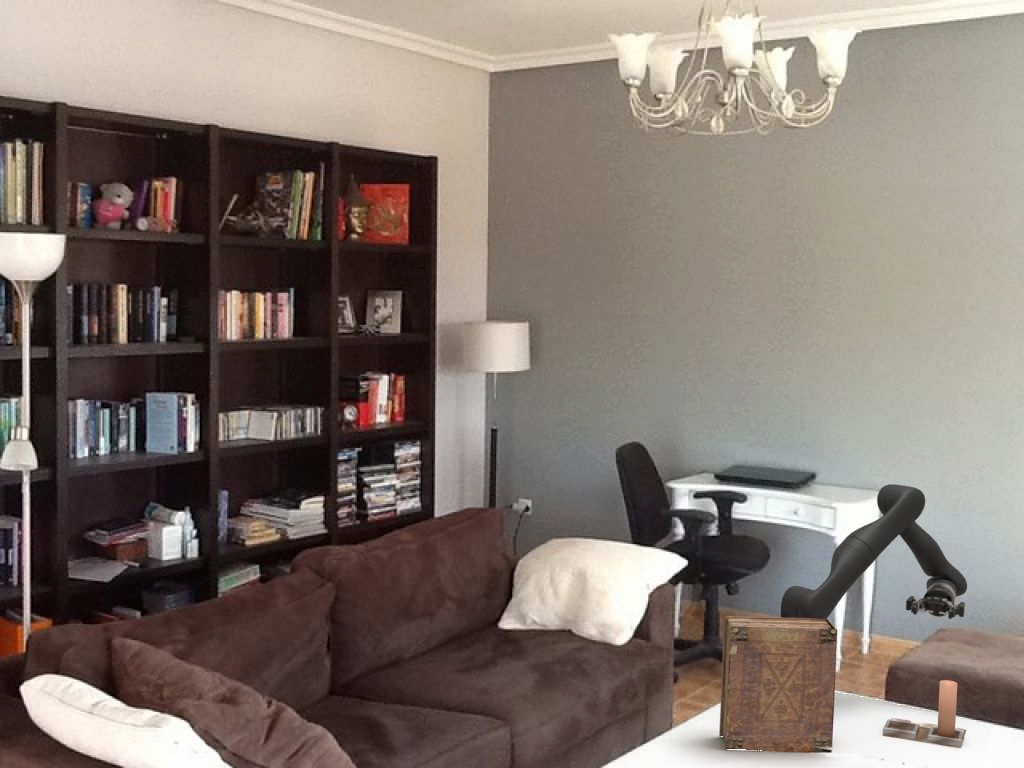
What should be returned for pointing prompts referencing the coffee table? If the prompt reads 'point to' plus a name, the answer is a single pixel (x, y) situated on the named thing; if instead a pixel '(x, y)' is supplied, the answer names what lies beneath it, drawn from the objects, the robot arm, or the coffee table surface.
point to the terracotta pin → (947, 709)
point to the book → (778, 684)
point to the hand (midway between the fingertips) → (932, 612)
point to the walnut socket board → (921, 732)
